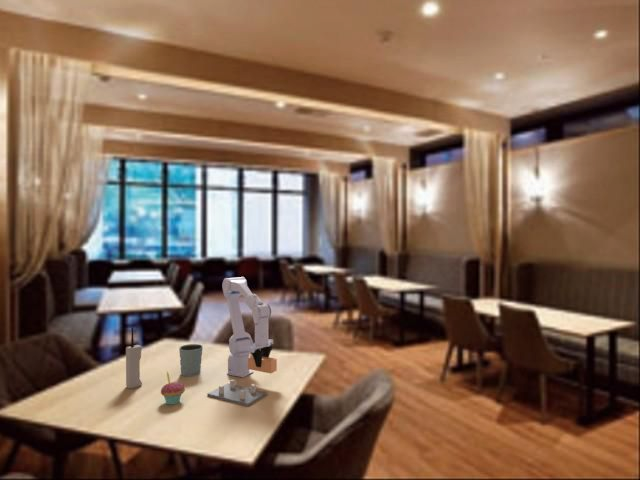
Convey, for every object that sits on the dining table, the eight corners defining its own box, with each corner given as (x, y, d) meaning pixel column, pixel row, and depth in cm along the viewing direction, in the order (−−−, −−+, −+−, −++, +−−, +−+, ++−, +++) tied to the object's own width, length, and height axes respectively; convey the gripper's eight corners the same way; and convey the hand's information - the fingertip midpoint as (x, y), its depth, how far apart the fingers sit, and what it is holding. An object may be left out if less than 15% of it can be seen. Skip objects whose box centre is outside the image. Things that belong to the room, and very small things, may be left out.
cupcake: (162, 408, 148) (161, 375, 147) (159, 399, 155) (159, 368, 155) (186, 403, 152) (186, 372, 151) (182, 395, 159) (182, 365, 159)
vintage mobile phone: (142, 385, 169) (141, 326, 168) (130, 389, 165) (129, 328, 164) (138, 383, 171) (137, 325, 171) (126, 386, 167) (125, 327, 167)
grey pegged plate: (207, 396, 158) (207, 386, 158) (227, 385, 169) (227, 376, 169) (248, 406, 149) (248, 395, 149) (266, 394, 160) (266, 384, 160)
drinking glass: (174, 375, 182) (174, 348, 181) (189, 367, 191) (189, 342, 191) (192, 378, 178) (192, 351, 177) (207, 370, 187) (207, 345, 187)
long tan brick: (247, 369, 171) (247, 351, 171) (253, 366, 175) (253, 349, 174) (271, 373, 165) (271, 355, 165) (276, 370, 169) (276, 353, 169)
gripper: (259, 338, 161) (259, 371, 162) (279, 330, 174) (279, 361, 175) (245, 336, 165) (245, 369, 165) (265, 328, 178) (265, 359, 178)
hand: (261, 365), depth 170 cm, fingers closed on long tan brick, 4 cm apart
